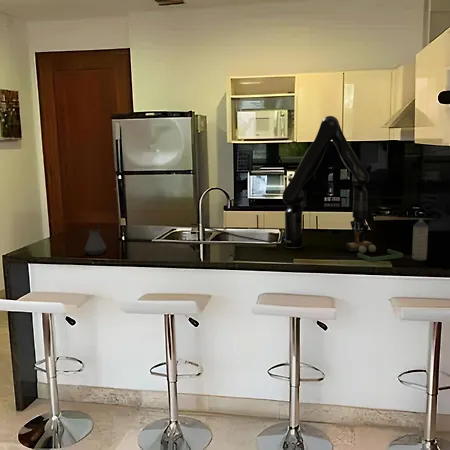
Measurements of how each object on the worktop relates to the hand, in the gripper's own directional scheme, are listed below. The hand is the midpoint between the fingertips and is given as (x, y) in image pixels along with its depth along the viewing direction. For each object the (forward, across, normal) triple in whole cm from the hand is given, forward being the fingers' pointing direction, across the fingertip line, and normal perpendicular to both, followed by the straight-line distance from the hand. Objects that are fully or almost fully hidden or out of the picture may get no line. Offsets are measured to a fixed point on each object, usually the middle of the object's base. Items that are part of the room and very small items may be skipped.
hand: (359, 241), depth 283 cm
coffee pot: (+6, +64, +127) cm, 142 cm away
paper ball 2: (+3, -7, -3) cm, 8 cm away
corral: (+5, -17, 0) cm, 18 cm away
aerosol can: (+5, -30, -14) cm, 33 cm away
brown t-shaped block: (+5, 0, 0) cm, 5 cm away
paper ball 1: (+3, -7, +3) cm, 8 cm away
